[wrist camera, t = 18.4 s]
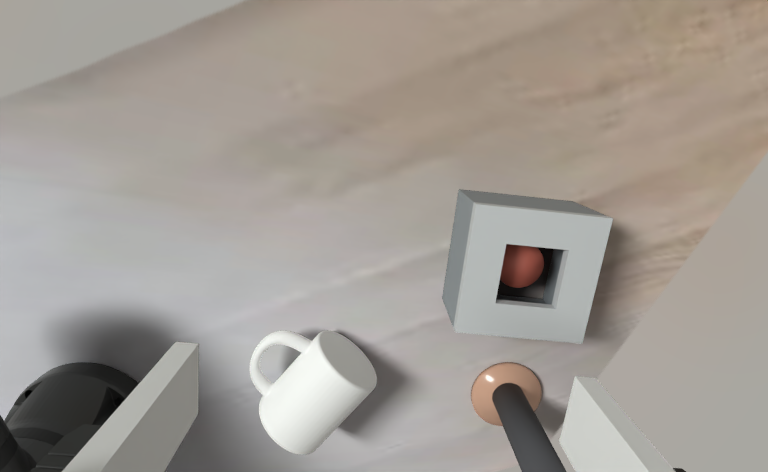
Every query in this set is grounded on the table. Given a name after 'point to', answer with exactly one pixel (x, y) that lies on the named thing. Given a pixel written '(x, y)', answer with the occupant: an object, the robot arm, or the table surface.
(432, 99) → the table surface
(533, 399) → the coaster
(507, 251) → the button
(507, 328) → the square hole box
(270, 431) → the mug
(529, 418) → the rod
